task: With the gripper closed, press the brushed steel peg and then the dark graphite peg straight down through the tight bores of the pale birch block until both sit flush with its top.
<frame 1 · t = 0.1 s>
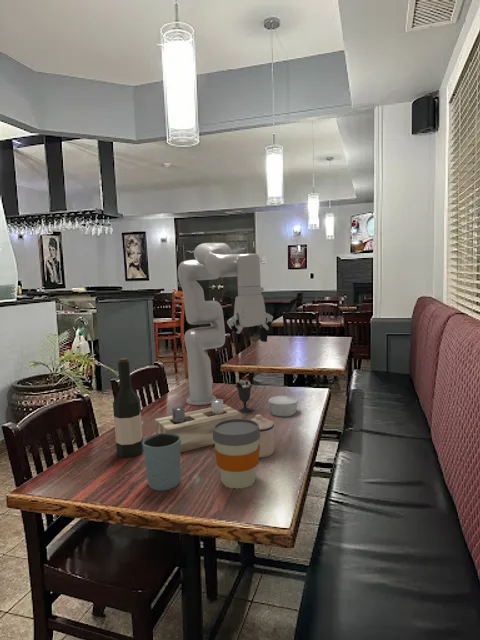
hand: (251, 343, 148), 31 cm above the table, tool pointing down, fingers open, 9 cm apart
ramekin: (283, 413, 172), on the table
steel peg: (217, 411, 151), point 8 cm above the table, slide at 4.0 cm
birch block: (200, 439, 149), on the table
sundae: (245, 411, 176), on the table
wine bottle: (130, 453, 141), on the table
teacup with lid: (255, 452, 137), on the table
graphite peg: (178, 419, 144), point 8 cm above the table, slide at 4.0 cm
blue cup: (164, 482, 120), on the table
reusable coffee cup: (238, 481, 119), on the table
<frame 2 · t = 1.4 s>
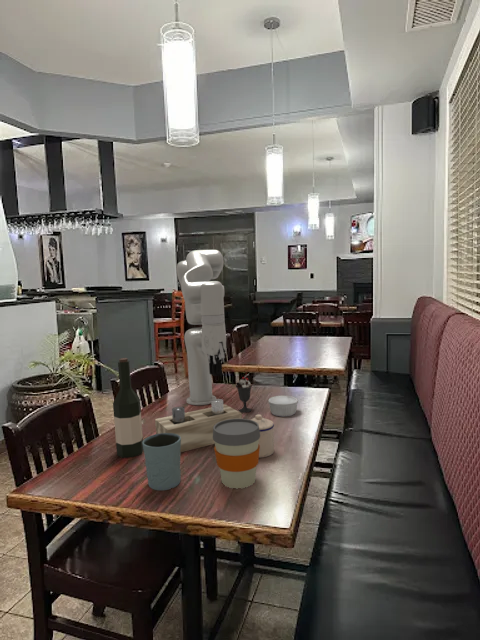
hand: (215, 374, 149), 21 cm above the table, tool pointing down, fingers closed
nothing on the table moved.
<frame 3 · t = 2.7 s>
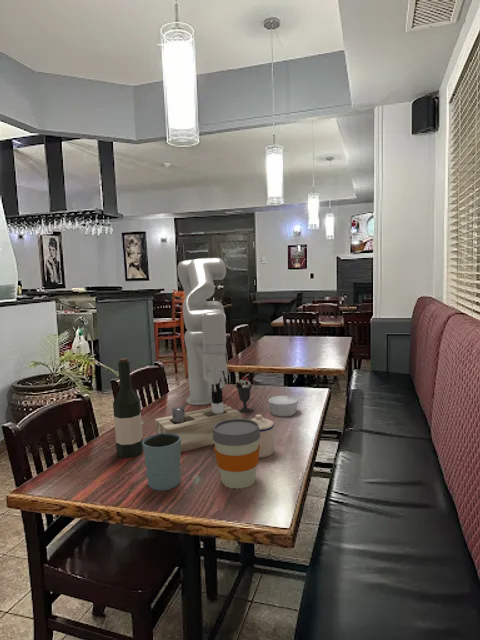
hand: (217, 402, 150), 11 cm above the table, tool pointing down, fingers closed
steel peg: (217, 413, 151), point 8 cm above the table, slide at 3.4 cm, touching gripper
everything else where it was.
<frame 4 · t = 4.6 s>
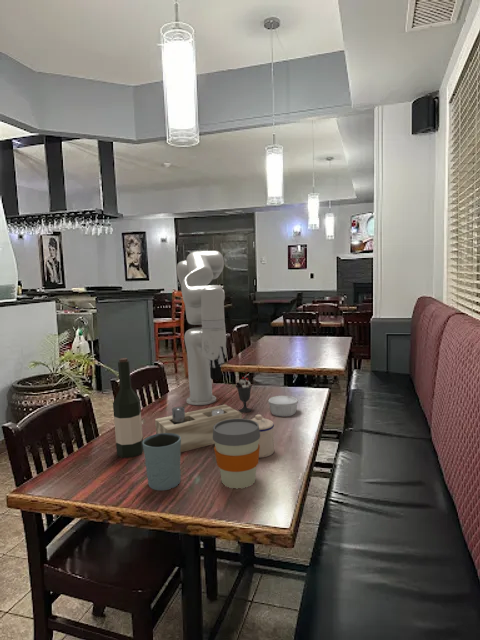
hand: (215, 378, 150), 20 cm above the table, tool pointing down, fingers closed
steel peg: (218, 421, 151), point 5 cm above the table, slide at 0.4 cm
everything else where it was.
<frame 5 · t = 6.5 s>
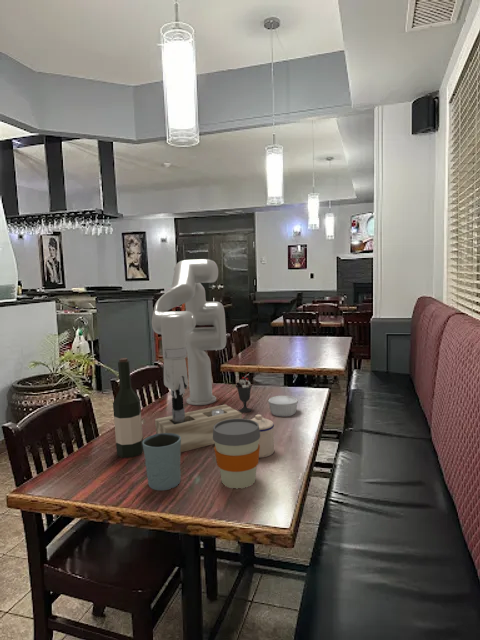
hand: (178, 408, 144), 12 cm above the table, tool pointing down, fingers closed
graphite peg: (178, 420, 144), point 8 cm above the table, slide at 3.9 cm, touching gripper
everything else where it was.
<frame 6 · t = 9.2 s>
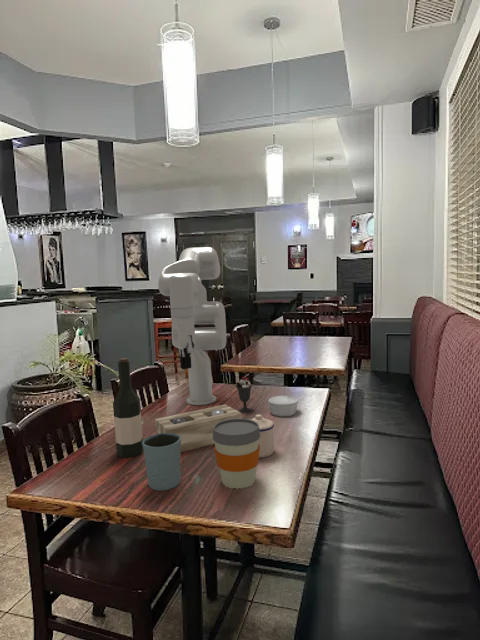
hand: (186, 368, 147), 24 cm above the table, tool pointing down, fingers closed
graphite peg: (179, 430, 145), point 5 cm above the table, slide at 0.4 cm
everything else where it was.
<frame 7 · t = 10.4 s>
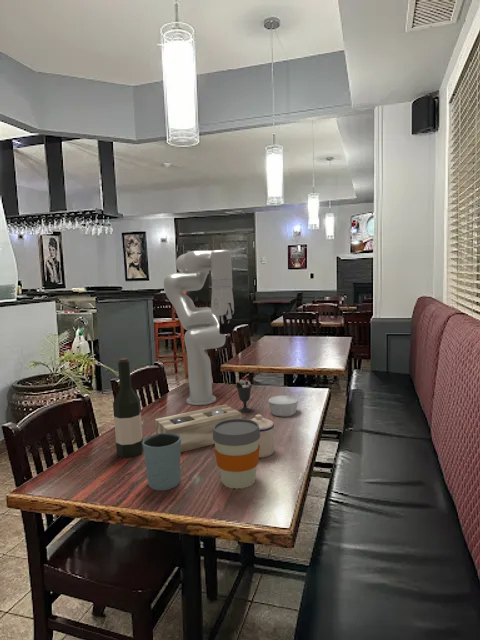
hand: (224, 333, 166), 32 cm above the table, tool pointing down, fingers closed
nothing on the table moved.
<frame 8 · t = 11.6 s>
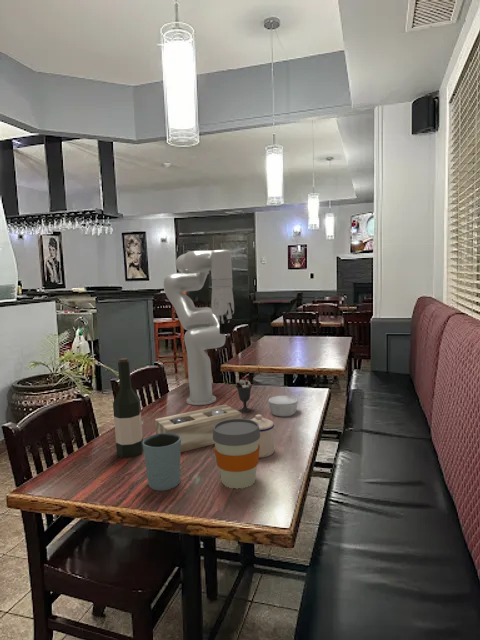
hand: (224, 333, 166), 32 cm above the table, tool pointing down, fingers closed
nothing on the table moved.
at the end: steel peg slide at 0.4 cm; graphite peg slide at 0.4 cm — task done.
